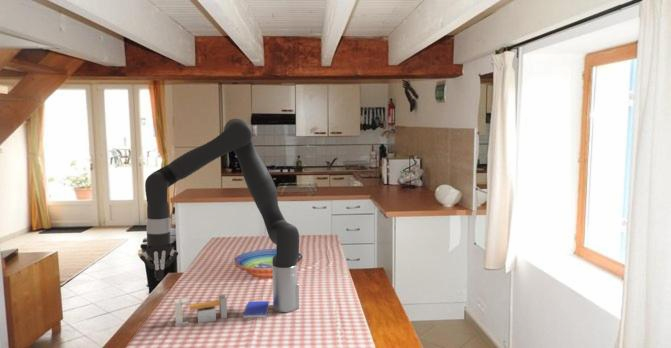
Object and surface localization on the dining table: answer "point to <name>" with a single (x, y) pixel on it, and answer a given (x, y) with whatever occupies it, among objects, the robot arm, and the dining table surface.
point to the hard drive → (256, 309)
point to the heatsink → (206, 314)
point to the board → (222, 311)
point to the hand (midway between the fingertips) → (159, 279)
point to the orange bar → (205, 304)
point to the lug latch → (179, 309)
